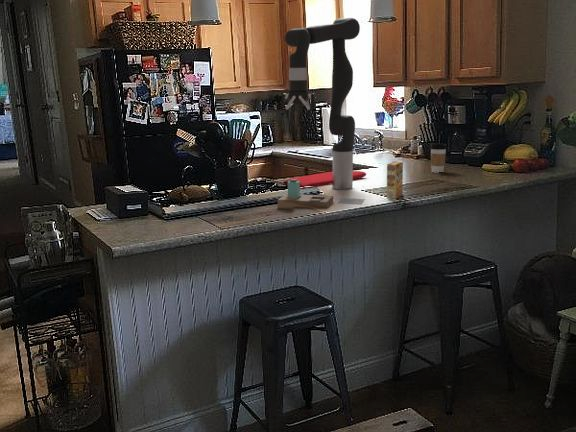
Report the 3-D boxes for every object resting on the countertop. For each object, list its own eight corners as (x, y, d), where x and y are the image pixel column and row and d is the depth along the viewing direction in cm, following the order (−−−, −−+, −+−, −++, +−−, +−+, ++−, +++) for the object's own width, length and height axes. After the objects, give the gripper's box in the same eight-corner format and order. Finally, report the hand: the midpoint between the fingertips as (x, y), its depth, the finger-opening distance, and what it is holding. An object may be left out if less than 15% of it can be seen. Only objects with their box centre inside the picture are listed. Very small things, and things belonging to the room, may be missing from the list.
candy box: (395, 200, 266) (396, 164, 262) (385, 200, 268) (386, 163, 264) (402, 197, 273) (403, 161, 270) (393, 196, 276) (394, 160, 272)
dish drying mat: (282, 184, 306) (282, 177, 305) (345, 175, 330) (345, 168, 329) (302, 189, 294) (302, 181, 293) (367, 179, 318) (367, 172, 317)
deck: (341, 200, 268) (341, 198, 268) (365, 201, 265) (365, 199, 265) (336, 205, 259) (336, 203, 258) (361, 206, 256) (361, 204, 256)
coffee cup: (426, 171, 335) (427, 142, 331) (440, 170, 337) (441, 142, 334) (434, 173, 327) (435, 144, 324) (448, 172, 330) (450, 144, 326)
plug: (290, 204, 262) (290, 178, 259) (299, 204, 261) (299, 178, 258) (287, 206, 258) (287, 180, 256) (297, 207, 257) (297, 180, 255)
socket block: (286, 201, 267) (286, 192, 266) (332, 204, 261) (333, 195, 260) (277, 208, 255) (277, 198, 254) (326, 210, 250) (326, 201, 249)
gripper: (317, 78, 265) (317, 117, 268) (284, 78, 268) (284, 117, 272) (312, 79, 258) (313, 119, 261) (279, 79, 261) (279, 119, 265)
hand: (298, 118), depth 267 cm, fingers open, 8 cm apart
